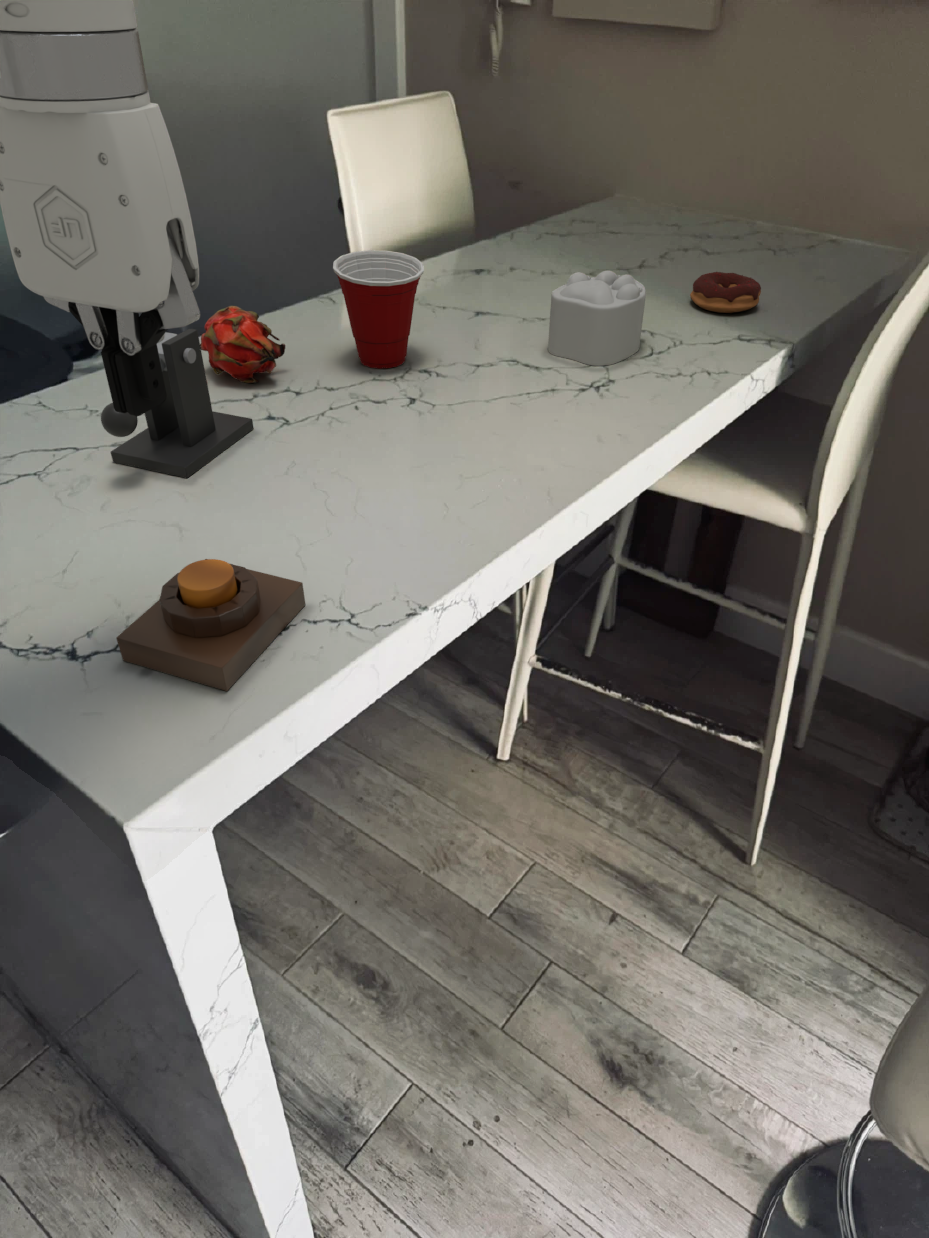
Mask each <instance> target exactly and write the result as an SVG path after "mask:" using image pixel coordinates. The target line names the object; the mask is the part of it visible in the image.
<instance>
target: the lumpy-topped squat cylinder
mask: <svg viewBox="0 0 929 1238" xmlns="http://www.w3.org/2000/svg"><path fill="white" fill-rule="evenodd" d="M550 294H551V295H550V310H549V324H548V325H549V326H548V341H547V351H548V353H549V354H551V355H553V356H556V357H560V358H565V359H569V360H572V361H576V362H578V363H581V364H584V365H587V366H596V367H603V366H610V365H615V364H617V363H620V362H621V361H624V360H626V359H628V358H630V357H631V356H633V355H635V354H636V353H637V352H638V351H639V350H640V344H641V337H642V329H643V322H644V312H645V305H646V297H647V290H646V287H645V285H643V283H641V282H640V281H638V280H636V279H635V278H634V277H633V275H631V274H626V273H625V274H622V275H620V274H616V272H614V271H612V270H607V269H606V270H603V271H601V272H600V273H598V274H596V276H590V275H587V274H586V273H584V272H581V271H576V272H574V273H572V274H571V275H570V276H569V277H568V278H567V281H566V283H565V284H562V285H560V286H559V287H557V288H555V289H553V290H552V291H551V293H550Z"/></svg>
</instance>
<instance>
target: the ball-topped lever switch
mask: <svg viewBox="0 0 929 1238" xmlns="http://www.w3.org/2000/svg"><path fill="white" fill-rule="evenodd" d="M176 335H178V334H177V333H172V332H167V331H166V332H165V338H164V340H162V341H161V342H159V343H157V348H158V353H159V358H160V363H161V368H162V371H167V367H166V363H165V358H164V353H163V349H162V343H163V342H165V341H167V340H169V339H171V338H173V337H174V336H176ZM138 420H139V419H138V416H134V415H130V414H129V413H128V412H127V413H120V412H116V411H115V409H114V406H113V402H111V403H109V404H107V405H106V406H105V407H104V408H103V410H102V411H101V413H100V422H101V425H102V428H103V429H104V431H106V432H107V433H108V434H109V435H111V436H113V437H117V438H125V437H129V436H130V435H132V434H133V433H134V432H135V431H136V429H137V426H138V422H139V421H138Z"/></svg>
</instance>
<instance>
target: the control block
mask: <svg viewBox="0 0 929 1238" xmlns="http://www.w3.org/2000/svg"><path fill="white" fill-rule="evenodd" d="M206 559H207V558H205V559H204V560H206ZM229 564H230V565H231V566H232V567H233V570H234V574H235V580H236V585H237V593H236V595H235V597H234V598H233V599H232V600H231V601H229V602H227V603H224V604H222V605H219V606H217V607H211V608H199V609H197V608H193V607H190V606H187V605H186V604H185V603H184V602H183V600H182V597H181V593H180V589H179V585H178V580H177V577H178V574H179V572H177V573H176V574H174V575H173V576H172V577H171V578H170V579H169V580H168V581H167V582H165V583H164V584H163V585H162V586H161V587H162V588H161V591H160V596H159V599H158V600H157V601H156V602H154V603H153V604H152V605H151V606H150V607H149V608H148V609H147V610H145V611H144V612H143V613H142V614H140V616H139V617H137V618H136V620H134V621H133V622H132V623H130V625H128V626H127V627H126V628H125V629H124V630H123V631H122V632H121V633H119V634H118V635H116V638H115V639H116V642H117V645H118V649H119V653H120V655H121V658H122V661H123V662H126V663H130V664H132V665H133V664H134V665H137V666H140V667H144V668H147V669H150V670H153V671H157V672H160V673H164V674H167V675H170V676H174V677H177V678H181V679H184V680H188V681H190V682H195V683H198V684H201V685H204V686H207V687H211V688H215V689H218V690H221V691H225V692H228V691H229V690H230V689H231V688H232V687H233V685H235V684H236V682H237V681H238V680H239V679H240V678H241V677H242V676H243V674H244V673H245V672H246V671H247V670H248V669H249V668H250V667H251V666H252V664H253V663H254V662H255V661H256V660H257V659H258V658H259V657H260V656H261V655H262V653H264V652H265V650H266V649H267V648H268V647H269V645H271V643H273V641H275V639H276V638H277V637H278V636H279V635H280V634H281V633H282V631H283V630H284V629H285V628H286V627H287V626H288V625H289V624H290V623H291V622H292V621H293V619H294V618H296V616H297V615H299V613H300V612H301V610H303V608H304V607H305V606H306V598H305V592H304V591H305V590H304V583H303V581H298V580H294V579H290V578H285V577H282V576H279V575H273V574H271V573H270V574H269V573H265V572H261V571H257V570H253V569H249V568H246V567H245V566H240V565H236V564H232V563H229Z"/></svg>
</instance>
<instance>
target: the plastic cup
mask: <svg viewBox="0 0 929 1238" xmlns="http://www.w3.org/2000/svg"><path fill="white" fill-rule="evenodd" d="M332 264H333V265H332V270H333V272H334V273H335V274H336V276H337V279H338V282H339V286H340V288H341V293H342V295H343V298H344V302H345V308H346V312H347V316H348V320H349V326H350V328H351V333H352V337H353V339H354V342H355V347H356V353H357V355H358V359H359V361H360V363H361V365H363V366H364V367H367V368H371V369H377V370H378V369H380V370H381V369H392V368H397V367H399V366H401V365H403V364H404V363H405V362H406V357H407V355H408V348H409V347H408V345H409V338H410V337H409V336H410V335H411V329H412V321H413V313H414V305H415V300H416V299H415V298H416V294H417V290H418V286H419V282H420V280H421V277H422V276H423V275H424V272H425V266H424V263H423V262H422V261H421V260H419V259H418V258H417V257H415V256H412V255H409V254H406V253H403V252H399V251H398V252H397V251H391V250H384V249H383V250H378V249H375V250H374V249H367V250H357V251H353V252H349V253H346V254H343V255H340V256H339V257H338V258H336V259H335V260H334V261H333V263H332Z"/></svg>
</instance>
